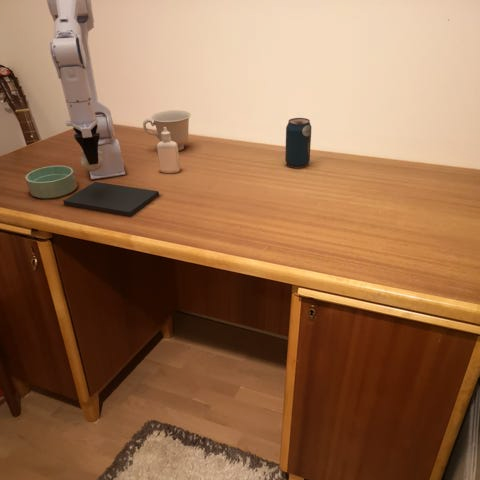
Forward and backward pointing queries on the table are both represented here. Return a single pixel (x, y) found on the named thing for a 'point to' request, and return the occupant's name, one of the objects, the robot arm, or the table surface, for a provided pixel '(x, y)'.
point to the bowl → (51, 181)
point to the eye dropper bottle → (168, 154)
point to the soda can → (298, 142)
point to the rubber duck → (95, 166)
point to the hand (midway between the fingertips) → (92, 159)
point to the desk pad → (112, 198)
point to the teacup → (171, 125)
